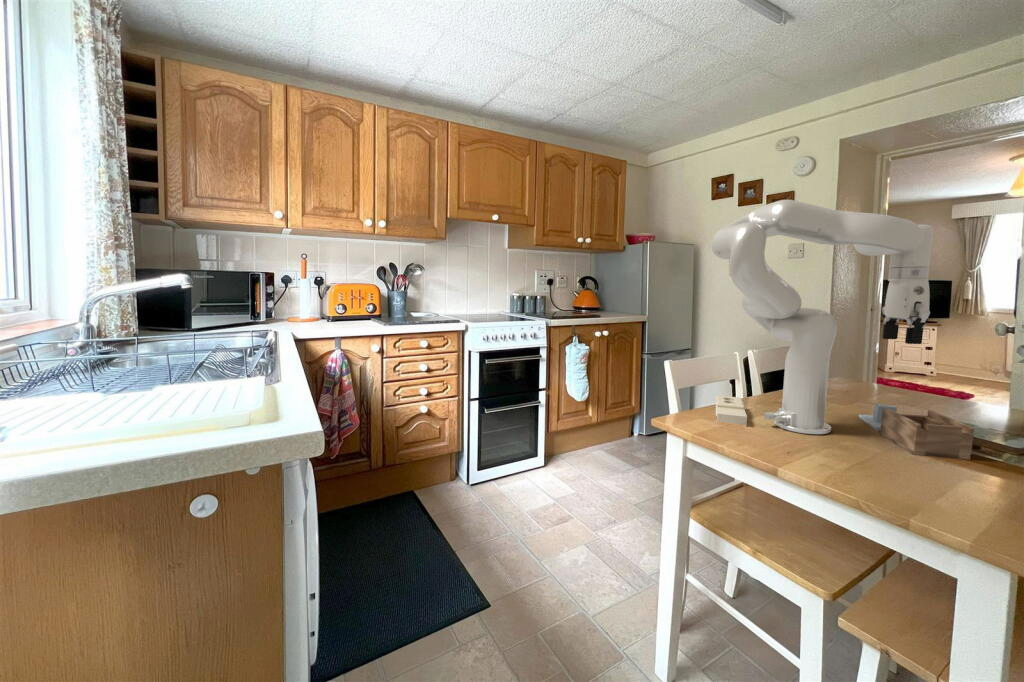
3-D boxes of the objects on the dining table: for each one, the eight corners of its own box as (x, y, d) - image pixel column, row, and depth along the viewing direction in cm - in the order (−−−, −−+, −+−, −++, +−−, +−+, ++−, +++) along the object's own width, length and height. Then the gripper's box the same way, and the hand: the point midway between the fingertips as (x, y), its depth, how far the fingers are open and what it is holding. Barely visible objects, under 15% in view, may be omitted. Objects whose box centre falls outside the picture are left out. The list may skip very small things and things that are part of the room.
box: (970, 459, 92) (974, 428, 91) (913, 454, 95) (917, 424, 94) (928, 437, 106) (931, 410, 105) (879, 433, 108) (882, 407, 108)
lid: (911, 434, 109) (913, 413, 108) (876, 431, 112) (878, 410, 111) (889, 420, 120) (891, 401, 119) (858, 418, 123) (860, 399, 122)
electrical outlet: (717, 410, 117) (715, 395, 134) (716, 424, 118) (715, 407, 134) (747, 413, 115) (741, 397, 131) (746, 427, 115) (740, 410, 131)
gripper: (951, 273, 100) (942, 346, 102) (904, 275, 116) (897, 337, 119) (912, 274, 102) (904, 345, 104) (871, 275, 118) (865, 337, 120)
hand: (900, 341), depth 111 cm, fingers open, 9 cm apart
